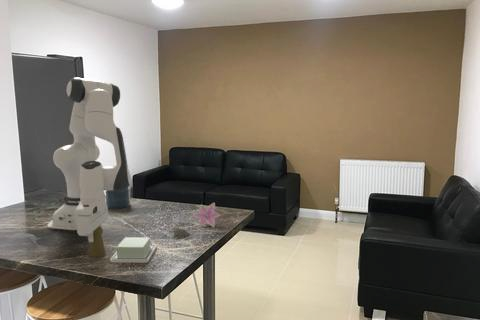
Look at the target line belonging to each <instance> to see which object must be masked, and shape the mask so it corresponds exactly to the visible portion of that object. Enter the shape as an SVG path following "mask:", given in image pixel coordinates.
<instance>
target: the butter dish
mask: <svg viewBox="0 0 480 320" xmlns="http://www.w3.org/2000/svg"><path fill="white" fill-rule="evenodd" d="M157 249H158V246H157V245H156V244H151V238H150V237H140V236H139V237H138V236H137V237H133V236H132V237H127V236H125V237H124V238H123V239H122V240H121V242H119V244H118V245H117V246H116V252H115V253H114V254H113V255H112V256H111V258H110V259H109V261H110V263H130V264H131V263H133V264H134V263H135V264H136V263H138V264H139V263H142V264H143V263H144V264H145V263H147V264H148V263H149V261H150V259H151V258H152V256H153V255H154V253H155V251H156V250H157Z"/></svg>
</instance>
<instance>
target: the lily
mask: <svg viewBox="0 0 480 320" xmlns="http://www.w3.org/2000/svg"><path fill="white" fill-rule="evenodd" d="M215 208H216V203H215V202H212V203H211V204H209V205H208V206H207V207H206V206H205V205H203V204H202V203H201V204H200V211H197V212H195V213H193V214H192V217H194V218H196V219H199V220H200V223H199V226H200V227H203V226H205V225H206V224H208V225H209V226H210V227H212V228H215V226H216V224H215V223H216V221H215V219H216V218H218V217H220V216H221V214H220V213H218V212H215Z"/></svg>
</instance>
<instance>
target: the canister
mask: <svg viewBox="0 0 480 320" xmlns="http://www.w3.org/2000/svg"><path fill="white" fill-rule="evenodd" d="M129 187H130V186H129ZM129 187H128V188H127V189H125V190H124V191H114V190H105V191H104V194H105V203H106V204H107V208H109V209H112V210H114V209H123V208H128V207H129V206H130V205H131V199H130V198H131V197H130V188H129Z"/></svg>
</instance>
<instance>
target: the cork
mask: <svg viewBox="0 0 480 320" xmlns="http://www.w3.org/2000/svg"><path fill="white" fill-rule="evenodd" d="M103 234H104V230H103V228H101V227H98V228H97V229H95V230H94V231H93V236H94V237H95V238H94V239H95V240H94V241H93V242H89V251H88V256H89V257H91V258H99V257H104V256H105V255H106V250H105V245H104V240H103V236H102V235H103Z"/></svg>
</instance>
